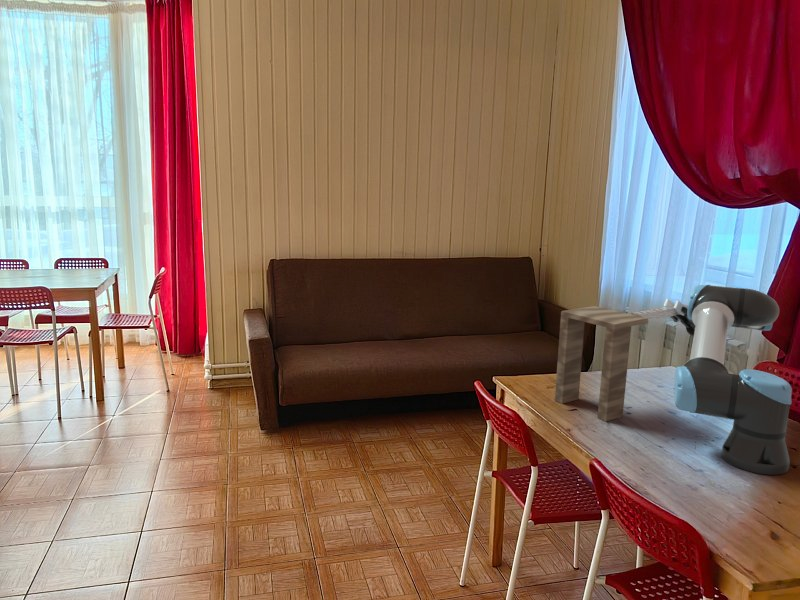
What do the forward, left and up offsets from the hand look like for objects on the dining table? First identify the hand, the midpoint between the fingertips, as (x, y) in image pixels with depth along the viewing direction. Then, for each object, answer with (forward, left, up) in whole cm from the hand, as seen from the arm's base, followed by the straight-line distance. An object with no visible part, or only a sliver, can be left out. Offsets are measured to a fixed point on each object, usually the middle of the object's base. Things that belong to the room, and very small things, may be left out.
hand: (671, 303), depth 201 cm
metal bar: (0, +5, -4) cm, 7 cm away
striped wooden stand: (+2, +32, -31) cm, 45 cm away
